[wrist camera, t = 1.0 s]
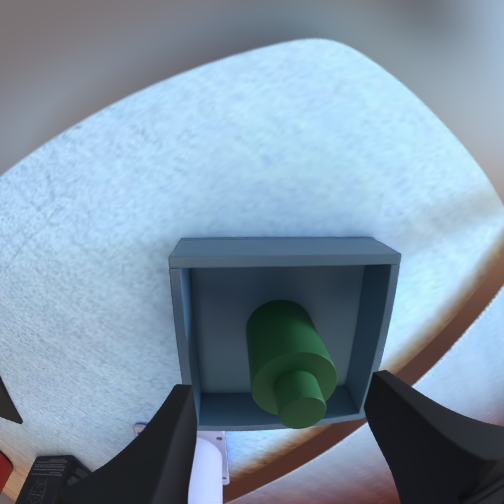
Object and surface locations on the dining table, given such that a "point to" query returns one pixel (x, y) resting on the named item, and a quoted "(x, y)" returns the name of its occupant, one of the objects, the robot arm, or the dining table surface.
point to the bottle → (288, 364)
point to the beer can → (4, 471)
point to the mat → (7, 406)
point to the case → (269, 289)
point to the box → (50, 478)
